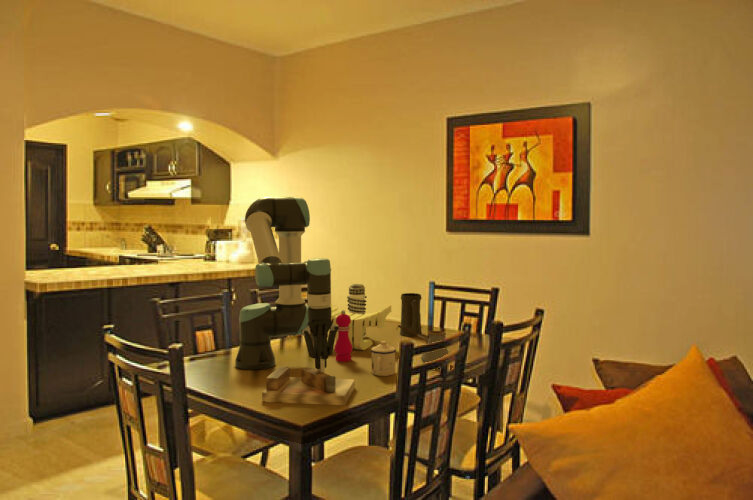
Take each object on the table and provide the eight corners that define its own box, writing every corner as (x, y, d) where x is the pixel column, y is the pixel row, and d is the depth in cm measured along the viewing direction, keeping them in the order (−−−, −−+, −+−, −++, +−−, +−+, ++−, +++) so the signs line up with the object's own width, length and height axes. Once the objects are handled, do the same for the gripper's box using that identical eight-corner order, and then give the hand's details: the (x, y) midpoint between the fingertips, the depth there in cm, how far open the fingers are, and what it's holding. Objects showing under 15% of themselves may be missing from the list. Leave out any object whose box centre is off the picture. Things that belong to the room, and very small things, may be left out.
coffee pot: (452, 362, 233) (453, 324, 232) (448, 370, 222) (448, 330, 221) (399, 359, 238) (399, 322, 238) (392, 366, 227) (393, 327, 227)
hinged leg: (301, 381, 195) (301, 368, 194) (311, 379, 197) (310, 366, 197) (328, 393, 182) (328, 379, 181) (338, 391, 184) (338, 377, 183)
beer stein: (396, 332, 292) (397, 292, 290) (416, 331, 295) (417, 291, 293) (407, 340, 278) (408, 299, 275) (428, 339, 281) (429, 298, 278)
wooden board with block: (262, 401, 184) (261, 379, 183) (279, 385, 202) (279, 365, 201) (344, 405, 180) (344, 382, 180) (354, 388, 198) (354, 367, 198)
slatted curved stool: (315, 348, 258) (314, 307, 257) (328, 340, 273) (328, 302, 272) (381, 352, 249) (381, 310, 248) (391, 345, 264) (391, 305, 263)
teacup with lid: (374, 369, 223) (374, 338, 222) (398, 370, 221) (398, 339, 220) (365, 377, 212) (365, 345, 211) (390, 379, 209) (390, 346, 208)
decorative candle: (351, 334, 288) (351, 283, 286) (369, 335, 285) (369, 283, 283) (344, 338, 279) (344, 285, 278) (362, 339, 276) (362, 285, 275)
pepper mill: (350, 362, 233) (349, 311, 232) (332, 361, 234) (332, 311, 233) (354, 358, 240) (354, 309, 239) (337, 357, 242) (337, 308, 240)
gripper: (307, 310, 184) (309, 384, 186) (342, 305, 192) (343, 377, 193) (296, 307, 191) (298, 379, 192) (331, 302, 198) (332, 372, 200)
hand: (321, 378), depth 193 cm, fingers closed
